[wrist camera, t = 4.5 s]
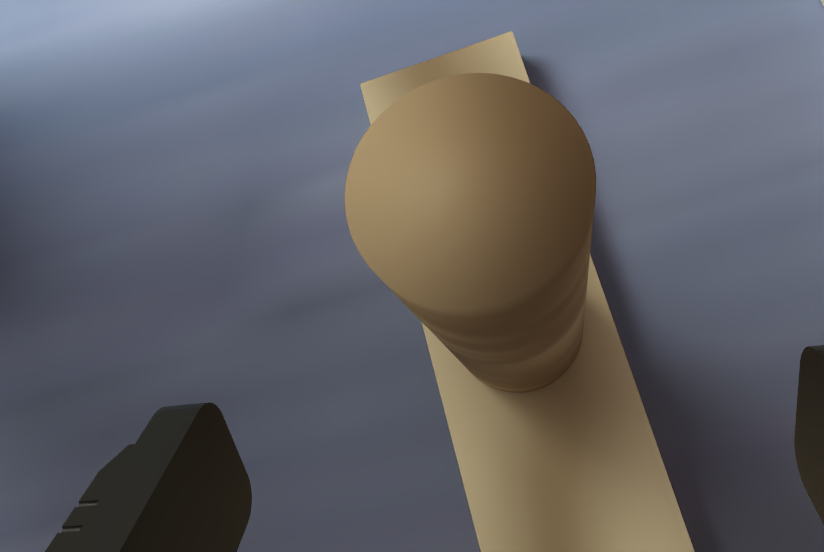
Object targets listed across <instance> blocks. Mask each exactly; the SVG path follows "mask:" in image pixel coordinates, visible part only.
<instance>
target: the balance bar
mask: <svg viewBox="0 0 824 552" xmlns="http://www.w3.org/2000/svg"><path fill="white" fill-rule="evenodd" d="M360 85H361V89H362V93H363V97H364V101H365V104H366V108H367V112H368V116H369V120H370V124H371V126H370V127H369V128H368V130H367V131H366V133H365V134H364V136H363V137H362V139H361V141H360V143H359V144H358V146H357V148H356V150H355V153H354V155H353V158H352V160H351V163H350V166H349V170H348V174H347V178H346V186H345V211H346V218H347V223H348V227H349V230H350V233H351V236H352V239H353V241H354V243H355V245H356V247H357V249H358V251H359V253H360V254H361V256H362V257H363V259H364V260H365V262H366V263H367V265H368V266H369V267H370V268H371V269H372V270H373V271H374V273H375V274H376V275H377V276H378V277H379V278H380V279H381V280H382V281H383V282H384V283H385V284H386V285H387V286H388V287H389V288H390V289H391V290H392V291H393V292H394V293H395V295H396V296H397V297H398V298H399V299H400V300H401V301H402V302H403V303H404V304H405V305H406V306H407V307H408V308H409V309H410V310H411V311H412V312H413V313H414V314H415V315H416V316H417V317H418V318H419V319H420V320H421V322H422V325H423V329H424V333H425V337H426V341H427V345H428V349H429V352H430V356H431V360H432V364H433V368H434V372H435V376H436V380H437V383H438V387H439V391H440V395H441V399H442V403H443V407H444V411H445V414H446V418H447V422H448V426H449V430H450V434H451V438H452V442H453V445H454V449H455V453H456V457H457V461H458V465H459V469H460V473H461V476H462V480H463V484H464V488H465V492H466V496H467V500H468V504H469V507H470V511H471V515H472V519H473V523H474V527H475V531H476V535H477V538H478V542H479V546H480V550H481V552H694V549H693V546H692V543H691V540H690V537H689V535H688V532H687V529H686V526H685V523H684V520H683V517H682V515H681V512H680V509H679V506H678V503H677V500H676V497H675V495H674V492H673V489H672V486H671V483H670V480H669V477H668V475H667V472H666V469H665V466H664V463H663V460H662V458H661V455H660V452H659V449H658V446H657V443H656V440H655V438H654V435H653V432H652V429H651V426H650V423H649V420H648V418H647V415H646V412H645V409H644V406H643V403H642V400H641V398H640V395H639V392H638V389H637V386H636V383H635V381H634V378H633V375H632V372H631V369H630V366H629V363H628V361H627V358H626V355H625V352H624V349H623V346H622V343H621V341H620V338H619V335H618V332H617V329H616V326H615V323H614V321H613V318H612V315H611V312H610V309H609V306H608V304H607V301H606V298H605V295H604V292H603V289H602V286H601V284H600V281H599V278H598V275H597V272H596V269H595V266H594V264H593V261H592V258H591V255H590V248H591V238H592V227H593V216H594V205H595V194H596V173H595V166H594V159H593V156H592V152H591V149H590V145H589V143H588V141H587V139H586V137H585V134H584V132H583V130H582V129H581V127H580V126H579V124H578V123H577V121H576V120H575V118H574V117H573V116H572V115H571V114H570V112H569V111H568V110H567V109H566V108H565V107H564V106H563V105H562V104H561V103H560V102H558V101H557V100H556V99H555V98H554V97H553V96H551V95H550V94H548V93H546V92H545V91H543V90H542V89H540V88H538V87H536V86H534V85H532V84H530V81H529V78H528V75H527V73H526V70H525V67H524V64H523V61H522V58H521V55H520V53H519V50H518V47H517V44H516V41H515V38H514V35H513V33H512V31H511V32H508V33H505V34H502V35H499V36H496V37H494V38H491V39H488V40H485V41H482V42H479V43H476V44H473V45H471V46H468V47H465V48H462V49H459V50H456V51H453V52H450V53H448V54H445V55H442V56H439V57H436V58H433V59H430V60H427V61H425V62H422V63H419V64H416V65H413V66H410V67H407V68H405V69H402V70H399V71H396V72H393V73H390V74H387V75H384V76H382V77H379V78H376V79H373V80H370V81H367V82H364V83H361V84H360Z"/></svg>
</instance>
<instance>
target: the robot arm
mask: <svg viewBox="0 0 824 552" xmlns="http://www.w3.org/2000/svg"><path fill="white" fill-rule="evenodd" d="M795 454H796V460H797V465H798V469H799V472H800V476H801V479H802V482H803V484H804V487H805V489H806V491H807V493H808V495H809V497H810V499H811V501H812V503H813V505H814V507H815V509H816V510H817V512H818V514H819V516H820V518H821V520H822V522H823V524H824V345H820V346H810V347H806V348H805V349H804V350H803V352H802V355H801V360H800V371H799V385H798V398H797V412H796V425H795ZM251 503H252V494H251V485H250V481H249V478H248V475H247V472H246V470H245V468H244V465H243V463H242V460H241V458H240V456H239V453H238V451H237V448H236V446H235V444H234V441H233V439H232V436H231V434H230V432H229V429H228V427H227V424H226V422H225V420H224V417H223V415H222V413H221V411H220V409H219V408H218V407H217V406H216V405H215V404H213V403H200V404H190V405H180V406H169V407H162V408H160V409H159V410H158V411H157V412H156V413H155V414H154V416H153V417H152V419H151V420H150V422H149V423H148V425H147V426H146V428H145V430H144V431H143V433H142V434H141V436H140V437H139V439H138V440H137V442H136V444H132V445H128V446H127V447H126V448H125V449H124V450H123V451H121V452H120V453H119V454H118V455H117V456H116V457H115V458H114V459H113V460H111V461H110V462H109V463H108V464H107V465H106V466H105V467H104V468H102V469H101V470H100V471H99V472H98V474H97V475H96V477H95V478H94V480H93V481H92V483H91V484H90V486H89V487H88V489H87V490H86V492H85V493H84V495H83V496H82V498H81V499H80V501H79V507H75V508H74V510H73V511H72V512H71V514H70V515H69V517H68V518H67V520H66V521H65V523H64V524H63V526H62V528H63V530H62V533H57V535H56V536H55V538H54V539H53V541H52V542H51V544H50V545H49V547H48V548H47V550H46V551H45V552H237V549H238V547H239V544H240V542H241V539H242V536H243V534H244V531H245V529H246V526H247V523H248V520H249V517H250V512H251Z"/></svg>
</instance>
